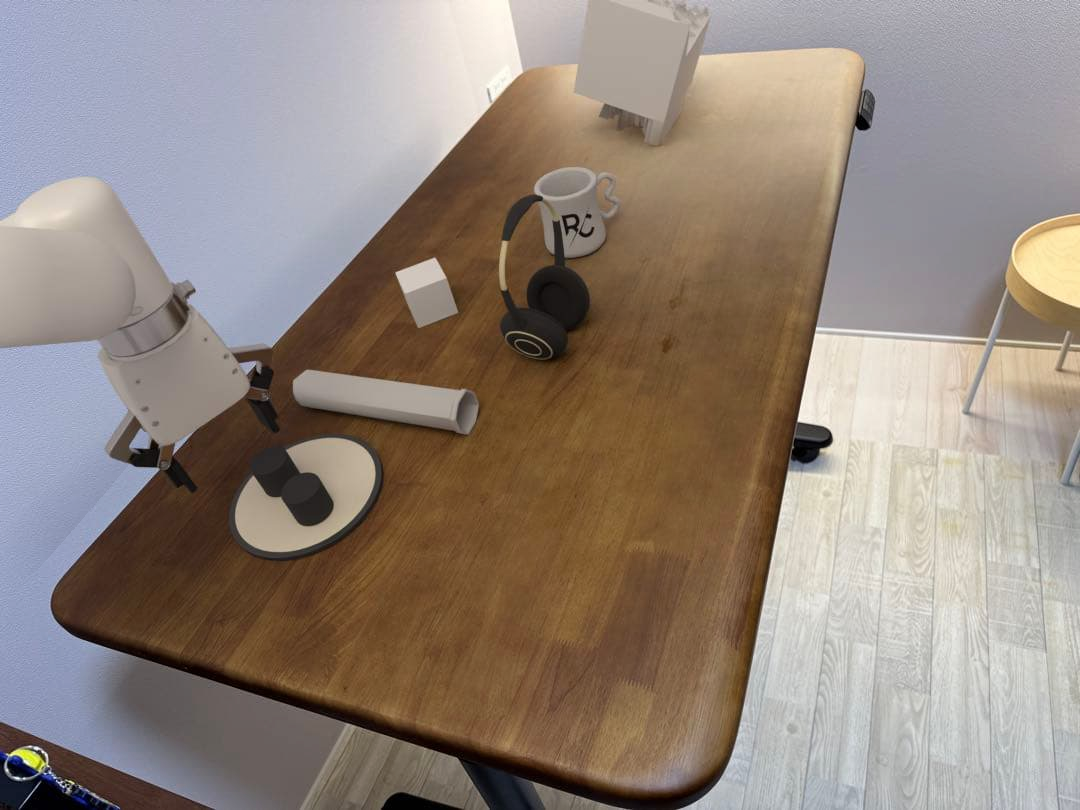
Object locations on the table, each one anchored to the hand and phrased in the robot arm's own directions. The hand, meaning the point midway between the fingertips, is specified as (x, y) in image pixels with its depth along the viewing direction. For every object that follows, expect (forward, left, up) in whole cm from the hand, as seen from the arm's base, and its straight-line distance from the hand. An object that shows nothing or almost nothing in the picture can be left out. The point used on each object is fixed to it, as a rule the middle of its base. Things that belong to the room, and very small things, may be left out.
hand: (231, 455), depth 79 cm
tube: (+18, +4, -12) cm, 22 cm away
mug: (+60, +7, -12) cm, 61 cm away
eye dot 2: (+4, -2, -11) cm, 12 cm away
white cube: (+36, +15, -12) cm, 40 cm away
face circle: (+5, +1, -12) cm, 12 cm away
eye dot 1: (+4, +5, -11) cm, 12 cm away
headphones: (+40, -5, -12) cm, 42 cm away
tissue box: (+92, +20, -12) cm, 94 cm away
